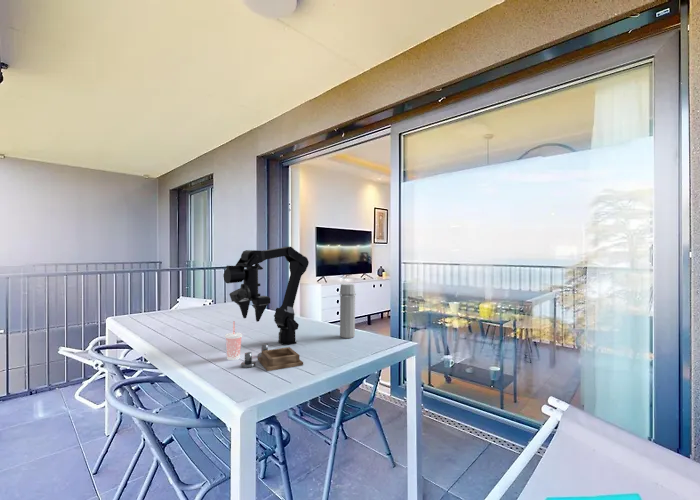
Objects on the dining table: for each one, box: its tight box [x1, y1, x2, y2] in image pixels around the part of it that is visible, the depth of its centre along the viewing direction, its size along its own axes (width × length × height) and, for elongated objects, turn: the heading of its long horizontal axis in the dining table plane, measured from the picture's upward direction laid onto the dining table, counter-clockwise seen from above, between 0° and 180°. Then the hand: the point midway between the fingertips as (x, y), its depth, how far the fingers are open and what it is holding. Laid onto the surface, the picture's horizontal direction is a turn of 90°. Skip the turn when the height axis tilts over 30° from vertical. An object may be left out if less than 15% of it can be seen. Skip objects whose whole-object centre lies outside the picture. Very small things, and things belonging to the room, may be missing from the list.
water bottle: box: [338, 283, 357, 339], centre depth 160 cm, size 9×8×25 cm
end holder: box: [257, 346, 304, 372], centre depth 123 cm, size 13×13×4 cm
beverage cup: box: [224, 321, 243, 361], centre depth 128 cm, size 6×6×14 cm
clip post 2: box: [257, 343, 269, 358], centre depth 131 cm, size 5×5×4 cm
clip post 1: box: [240, 351, 256, 369], centre depth 120 cm, size 5×5×4 cm
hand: (251, 319), depth 136 cm, fingers open, 9 cm apart
